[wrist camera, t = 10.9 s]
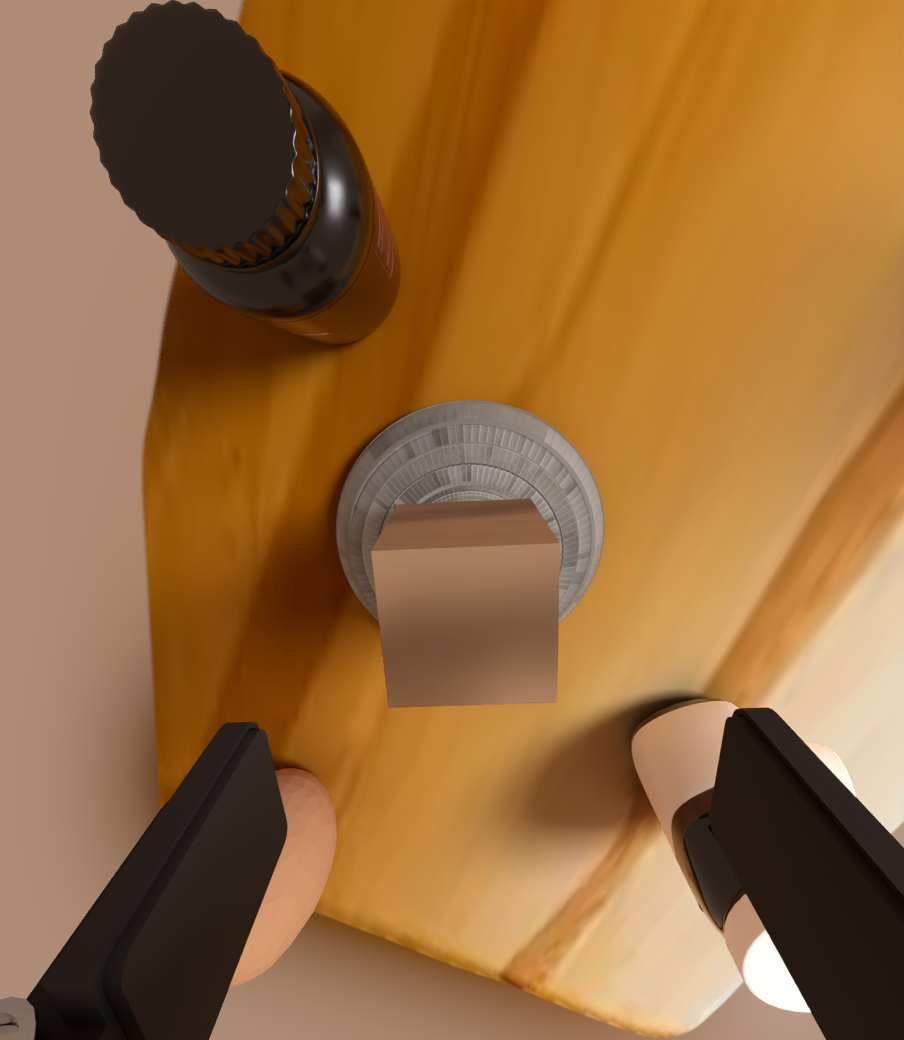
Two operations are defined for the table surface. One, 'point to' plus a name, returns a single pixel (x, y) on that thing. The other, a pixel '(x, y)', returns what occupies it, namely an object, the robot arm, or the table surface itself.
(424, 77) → the table surface
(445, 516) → the walnut block
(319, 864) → the egg
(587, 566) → the flying saucer
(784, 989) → the spread jar
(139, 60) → the supplement bottle
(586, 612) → the table surface
